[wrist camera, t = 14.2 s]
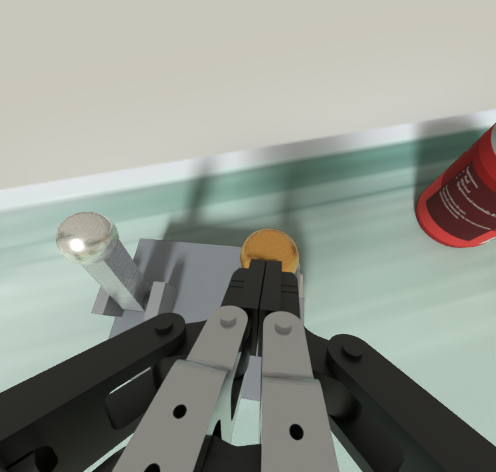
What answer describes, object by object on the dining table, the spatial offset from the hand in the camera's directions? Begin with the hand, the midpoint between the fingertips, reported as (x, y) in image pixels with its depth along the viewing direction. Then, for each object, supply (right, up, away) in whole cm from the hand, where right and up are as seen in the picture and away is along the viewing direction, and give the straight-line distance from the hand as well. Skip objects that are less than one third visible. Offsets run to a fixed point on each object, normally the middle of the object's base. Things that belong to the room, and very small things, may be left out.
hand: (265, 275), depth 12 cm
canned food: (+21, +4, +15) cm, 26 cm away
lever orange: (+1, -4, +7) cm, 9 cm away
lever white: (-10, -4, +9) cm, 14 cm away
